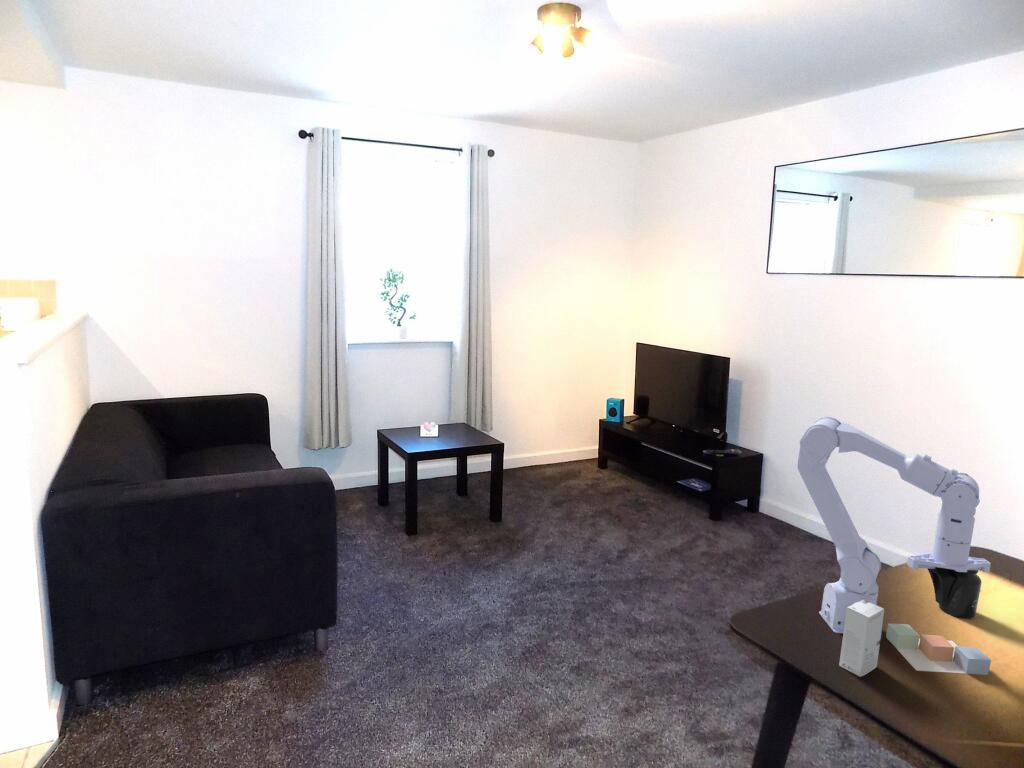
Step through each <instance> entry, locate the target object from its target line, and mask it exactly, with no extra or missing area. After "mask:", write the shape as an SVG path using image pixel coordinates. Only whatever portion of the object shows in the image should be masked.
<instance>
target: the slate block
mask: <svg viewBox="0 0 1024 768" xmlns="http://www.w3.org/2000/svg"><path fill="white" fill-rule="evenodd" d="M953 661H954V662H955V663H956V664H957V665H958V666H959V667H960V668H961V669H962V670H963V671H964V672H965V673H969V674H970V675H982V674H986V675H985V676H988V675H989V672H990V667H991V663H992V659H990V658H989V657H988V655H986V654H985V653H984V652H983V651H982V650H981V649H980V648H979V647H975V646H974V647H973V646H962V645H961V646H960V645H957V646H955V651H954V657H953ZM965 673H964V674H965ZM969 674H968V675H969Z"/></svg>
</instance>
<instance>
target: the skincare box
mask: <svg viewBox="0 0 1024 768" xmlns="http://www.w3.org/2000/svg"><path fill="white" fill-rule="evenodd" d="M884 613H885V608H884V607H881V606H880V605H877V604H876V605H874V604H872V603H870V602H867V601H865V600H862V601H860V602H857V603H854V604H853V605H851V606H849V607H847V610H846V617H845V625H844V633H842V634H843V635H842V641H841V649H840V657H839V664H838V666H839V667H841V668H843V669H845V670H847V671H848V672H850V673H852V674H854V675H856V676H857V677H860V678H861V677H864V676H865V675H867V674H868V673H870V672H872V671H874V669H876V668H877V667H878V661H879V660H878V659H879V655H880V654H879V652H880V646H881V640H882V631H883V622H884V615H885V614H884Z"/></svg>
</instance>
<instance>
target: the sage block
mask: <svg viewBox="0 0 1024 768" xmlns="http://www.w3.org/2000/svg"><path fill="white" fill-rule="evenodd" d="M885 635H886V636H885V637H887V638H888V639H887V638H886V639H887V640H888V641H889V642H890V643H891V644H892V645H893V646H894V648H895V647H896V648H899V649H916V650H917V649H918V643H919V639H920V637H921V634H919V633H918V632H917V631H916V630H914V628H913V627H912V626H911V625H910V624H906V623H905V624H904V623H890V622H889V623H887V628H886V634H885ZM896 648H895V649H896Z"/></svg>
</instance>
